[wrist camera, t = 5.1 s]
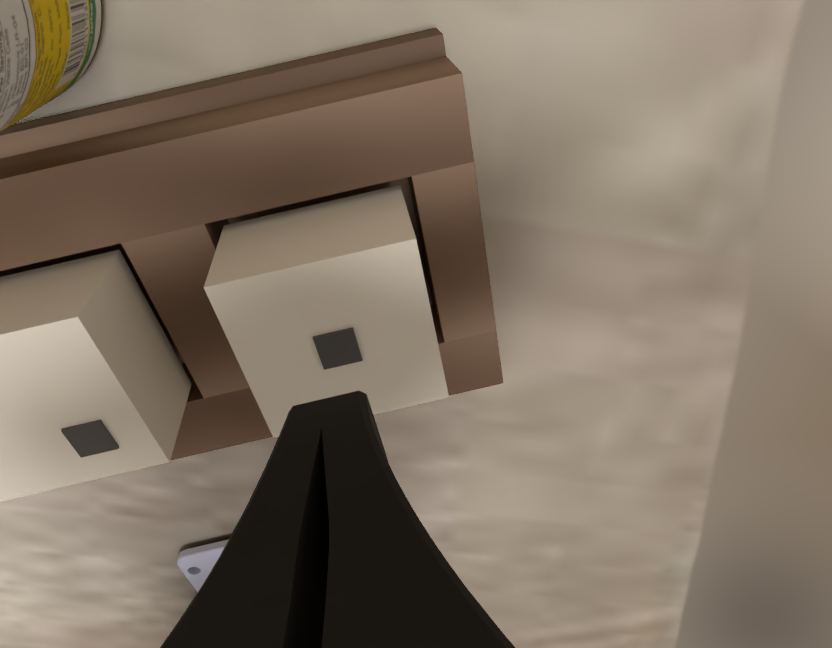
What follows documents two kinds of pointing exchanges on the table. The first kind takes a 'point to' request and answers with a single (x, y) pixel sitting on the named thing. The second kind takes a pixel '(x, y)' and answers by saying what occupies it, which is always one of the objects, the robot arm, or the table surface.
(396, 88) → the brown wooden tray
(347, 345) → the key one
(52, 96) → the supplement bottle
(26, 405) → the key two
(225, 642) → the robot arm
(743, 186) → the table surface
